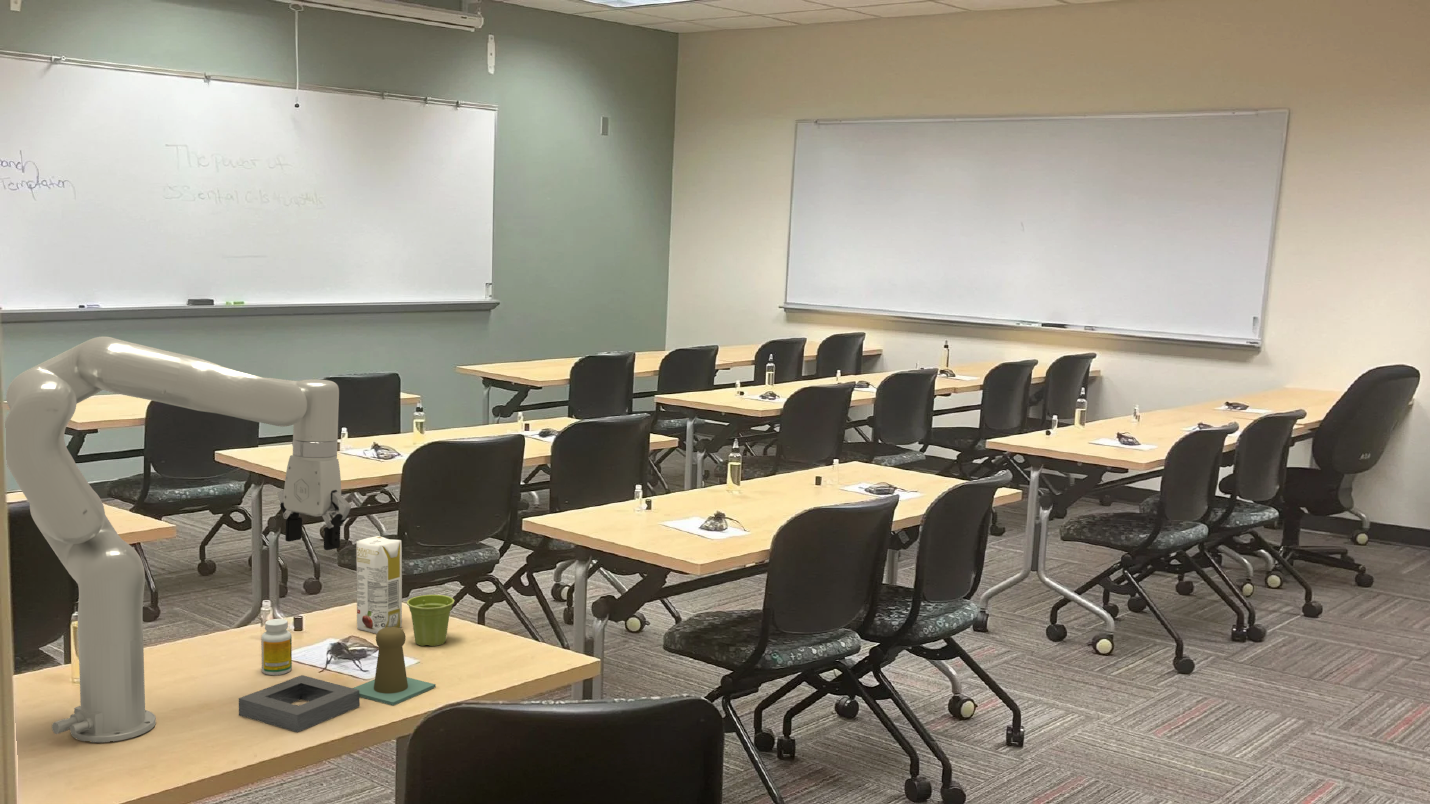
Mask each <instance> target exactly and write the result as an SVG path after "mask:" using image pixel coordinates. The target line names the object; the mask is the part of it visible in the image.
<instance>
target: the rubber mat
mask: <svg viewBox="0 0 1430 804" xmlns="http://www.w3.org/2000/svg"><path fill="white" fill-rule="evenodd" d="M374 682H375V678H374V679H372V680H369V681H367V682H365V683H361V684H359V685H356V686H354V687H352V688H353V689H357V690H359V694H360V698H363V699H366V700H369V701H374V702H378V703H381V704H386V705H389V706H395V705H398V704H400V703H403V702H406V701H407V700H409V699H412V698H414V697H417V696H420V695H421V694H423V693H426V692H428V691H430V690H433V689H435V688H436V684H435V683H432V682H427V681H425V680H420V679H416V678H412V677H408V676H407V683H408V688H407V689H406V690H404V691H402V692H398V693H379V692H376V691H375V690H374ZM434 687H435V688H434ZM432 688H433V689H432Z"/></svg>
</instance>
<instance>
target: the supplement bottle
mask: <svg viewBox="0 0 1430 804" xmlns="http://www.w3.org/2000/svg"><path fill="white" fill-rule="evenodd" d="M288 627H289V623H288V620H287V619H285V618H274V619H268V620H266V621H265V623H264V629H265V631H264V633H262V635H261V639H260V640H261V648H260V649H261V671H262V674H265V675H267V676H268V675H270V676H281V675H285V674H288V673H290V672H291V670H292V667H293V660H292V659H293V658H292V657H293V653H292V651H293V649H292V648H293V647H292V643H293V642H292V641H293V640H292V639H293V638H292V633H291V632H290V631H289V630H288Z"/></svg>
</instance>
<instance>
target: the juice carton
mask: <svg viewBox="0 0 1430 804" xmlns="http://www.w3.org/2000/svg"><path fill="white" fill-rule="evenodd" d="M402 551H403V547H402V540H401V539H392V538H391V539H389V538H387V537H383V536H380V535H377V536H370V537H366V538H363V539H362V538H361V539H359V540H356V627H357V630H361V631H364V632H369V633H372V634H376V635H377V633H378V631H379V630H381V629H383V628H387V627H398V628H401V629H402V623H403V622H402V621H403V618H402V617H403V615H402V614H403V608H402V606H403V589H402V588H403V587H402V585H403V580H402V579H403V573H402V572H403V571H402V570H403V569H402V567H403V565H402V564H403V557H402V555H403V552H402Z"/></svg>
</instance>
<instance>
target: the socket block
mask: <svg viewBox="0 0 1430 804" xmlns="http://www.w3.org/2000/svg"><path fill="white" fill-rule="evenodd" d="M353 688H354V687H350V686H344V685H342V684H338V683H334V682H331V681H326V680H323V679H318V678H314V677H311V676H306V675H303V674H301V675H299V676H296V677H293V678H290V679H287V680H285V681H282V682H280V683H277V684H274V685H273V684H272V685H270V686H268V687H266V688H263V689H261V690H257V691H255V692H251V693H250V694H247V695H244V696H242V697H239V698H238V716H240V717H243V718H245V719H246V718H248V719H249V720H254V721H257V722H260V723H264V724H268V725H271V726H275V727H278V728H281V729H284V730H288V731H291V732H295V733H300V732H302V731H305V730H307V729H310V728H312V727H314V726H316V725H319V724H322V723H323V722H326V721H328V720H331V719H334V718H335V717H337V716H341V715H343V714H346V713H347V712H350V711H353V710H354V709H357V708H360V707H361V706H360V698H361V697H360V694H359V690H357V689H353ZM301 700H303V701H306V702H305V703H302V704H300V705H297V704H295V703H296V702H299V701H301ZM293 703H294V704H293Z"/></svg>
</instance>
